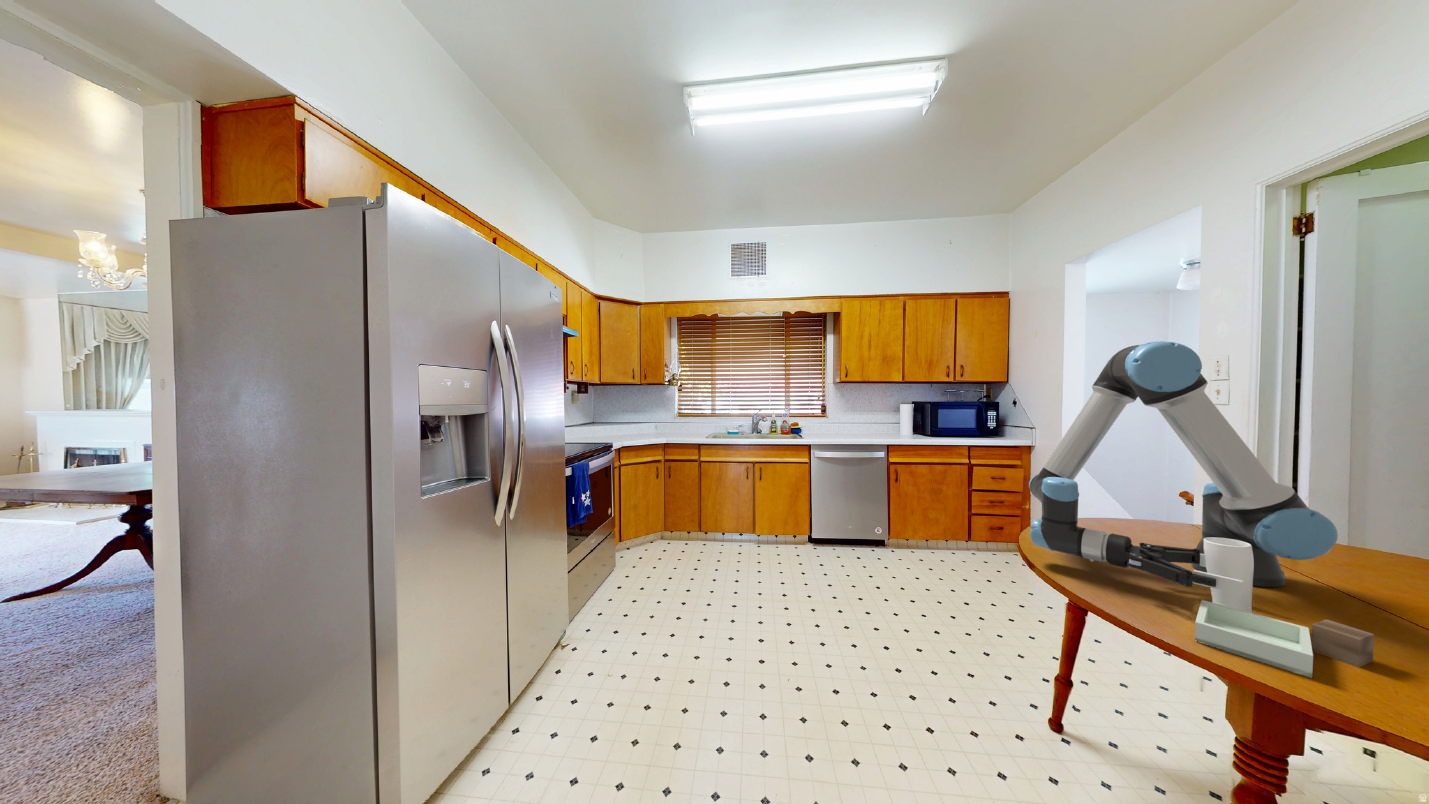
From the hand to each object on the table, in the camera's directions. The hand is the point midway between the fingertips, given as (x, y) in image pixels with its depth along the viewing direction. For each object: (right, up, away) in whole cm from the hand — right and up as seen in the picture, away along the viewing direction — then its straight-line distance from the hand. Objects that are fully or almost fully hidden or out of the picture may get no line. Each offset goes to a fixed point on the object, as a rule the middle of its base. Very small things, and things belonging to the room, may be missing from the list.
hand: (1244, 578), depth 89 cm
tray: (-10, -9, -9) cm, 16 cm away
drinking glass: (-1, -8, +2) cm, 8 cm away
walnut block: (+2, -9, -12) cm, 15 cm away
